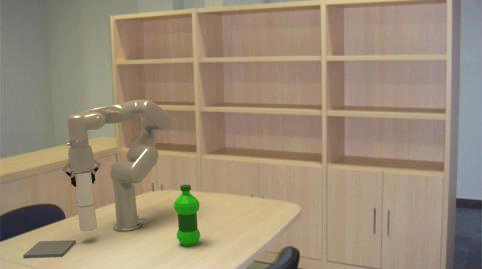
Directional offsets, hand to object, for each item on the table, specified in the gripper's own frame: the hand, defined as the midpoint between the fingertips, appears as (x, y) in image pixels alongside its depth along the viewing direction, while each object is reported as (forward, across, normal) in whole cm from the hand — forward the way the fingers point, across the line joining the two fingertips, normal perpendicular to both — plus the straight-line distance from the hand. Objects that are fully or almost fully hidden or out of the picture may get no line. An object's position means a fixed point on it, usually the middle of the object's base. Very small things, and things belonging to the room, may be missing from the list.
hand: (83, 184), depth 228 cm
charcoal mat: (+25, -16, -2) cm, 30 cm away
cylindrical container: (+20, 0, 0) cm, 20 cm away
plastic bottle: (+26, +35, -29) cm, 52 cm away
